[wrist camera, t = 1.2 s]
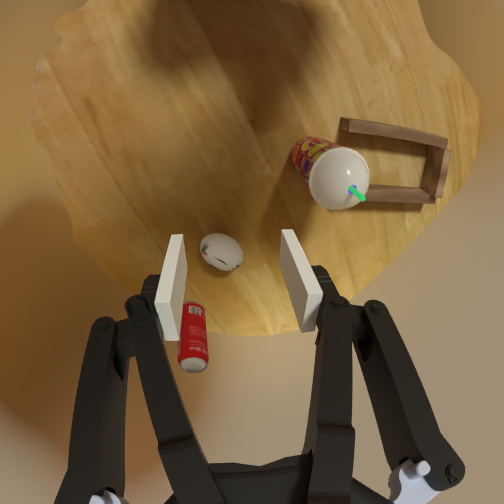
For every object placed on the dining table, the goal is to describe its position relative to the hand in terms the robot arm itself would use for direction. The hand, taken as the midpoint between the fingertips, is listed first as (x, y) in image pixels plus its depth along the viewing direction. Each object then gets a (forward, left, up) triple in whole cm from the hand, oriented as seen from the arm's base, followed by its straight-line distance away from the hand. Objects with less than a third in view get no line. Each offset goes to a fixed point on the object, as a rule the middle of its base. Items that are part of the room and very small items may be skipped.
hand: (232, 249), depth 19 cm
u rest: (0, +30, -29) cm, 42 cm away
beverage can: (+33, -8, -29) cm, 45 cm away
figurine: (+16, -1, -29) cm, 33 cm away
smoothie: (0, +14, -29) cm, 32 cm away
